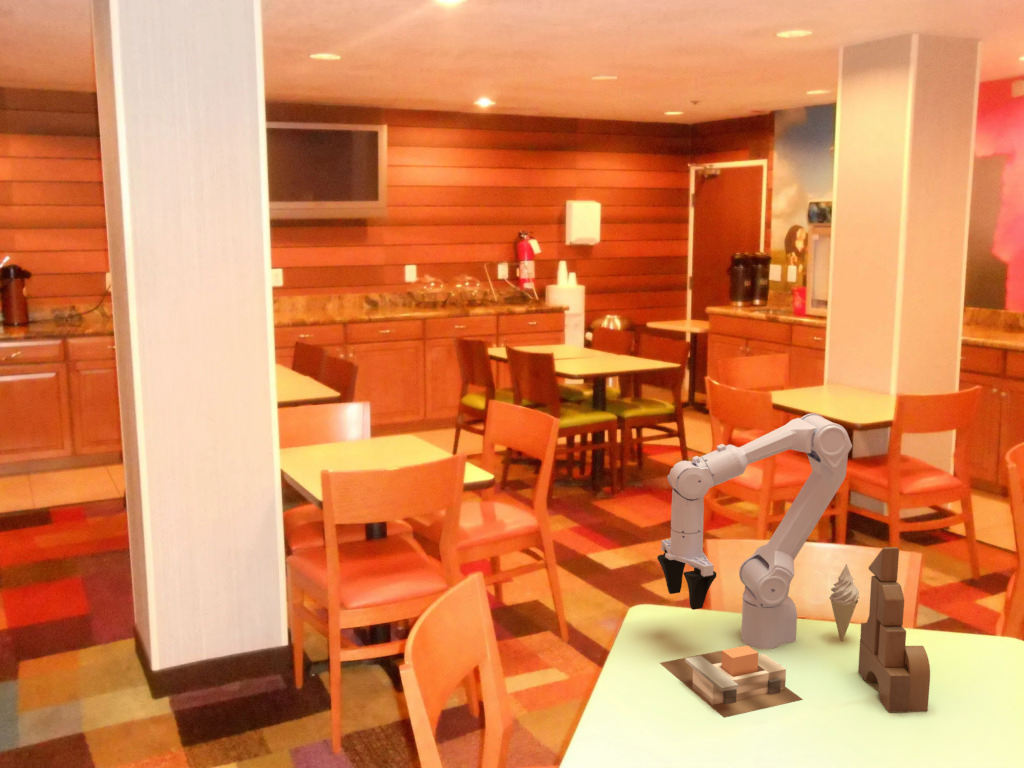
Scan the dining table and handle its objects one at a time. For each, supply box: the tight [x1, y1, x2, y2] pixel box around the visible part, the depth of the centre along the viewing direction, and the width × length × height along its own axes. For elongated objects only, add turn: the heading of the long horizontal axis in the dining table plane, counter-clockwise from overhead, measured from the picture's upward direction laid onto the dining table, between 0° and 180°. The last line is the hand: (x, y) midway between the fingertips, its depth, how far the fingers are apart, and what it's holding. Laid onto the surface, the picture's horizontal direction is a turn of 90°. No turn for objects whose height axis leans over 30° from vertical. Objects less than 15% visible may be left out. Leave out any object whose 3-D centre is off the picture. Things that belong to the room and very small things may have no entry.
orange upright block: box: [721, 644, 759, 677], centre depth 157 cm, size 5×3×6 cm, turn 111°
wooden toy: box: [857, 546, 931, 713], centre depth 157 cm, size 15×7×25 cm, turn 0°
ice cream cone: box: [829, 563, 860, 642], centre depth 176 cm, size 5×5×15 cm
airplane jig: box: [659, 650, 804, 718], centre depth 160 cm, size 15×20×5 cm
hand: (685, 600), depth 173 cm, fingers open, 7 cm apart
